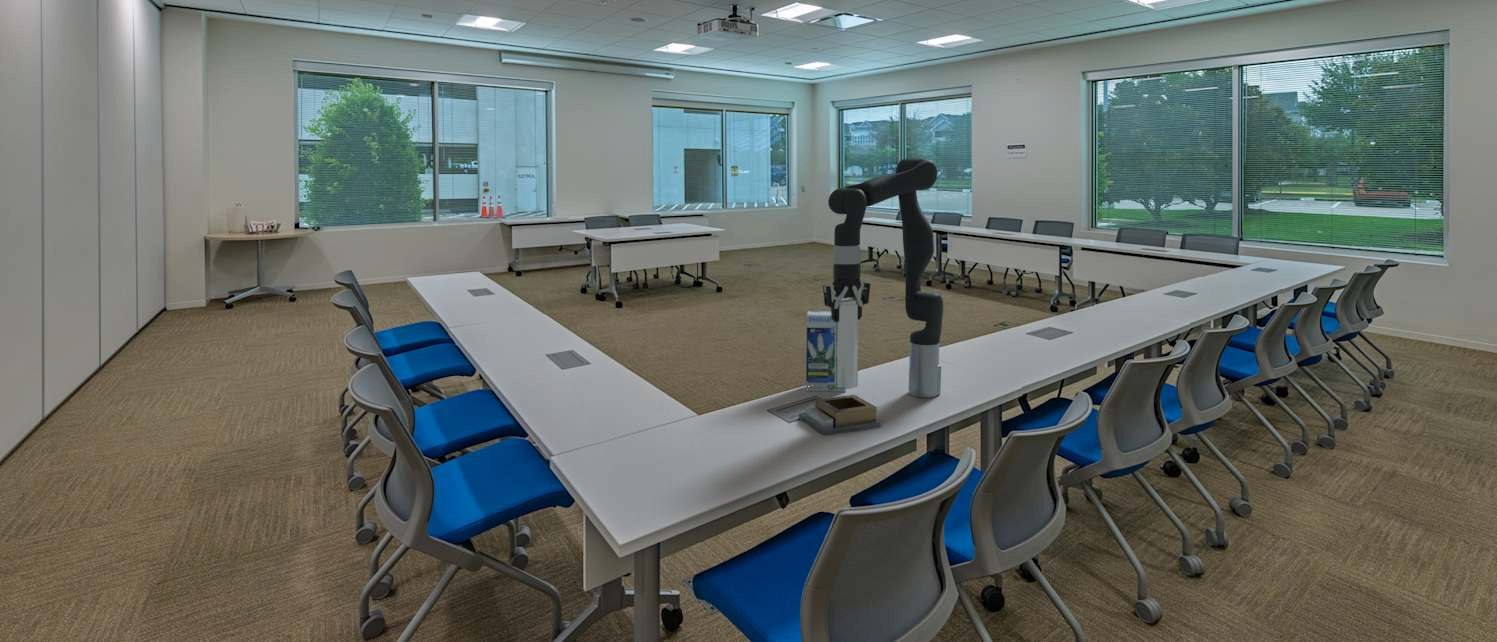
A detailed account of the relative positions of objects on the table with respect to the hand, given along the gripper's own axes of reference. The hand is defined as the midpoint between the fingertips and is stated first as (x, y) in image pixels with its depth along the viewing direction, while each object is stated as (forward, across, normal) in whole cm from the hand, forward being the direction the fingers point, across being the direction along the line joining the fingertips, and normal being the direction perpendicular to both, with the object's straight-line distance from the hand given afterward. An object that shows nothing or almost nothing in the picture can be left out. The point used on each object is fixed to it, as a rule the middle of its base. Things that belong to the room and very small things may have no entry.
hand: (846, 320), depth 207 cm
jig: (+30, +2, 0) cm, 30 cm away
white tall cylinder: (+19, 0, 0) cm, 19 cm away
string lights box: (+30, -10, -32) cm, 45 cm away
